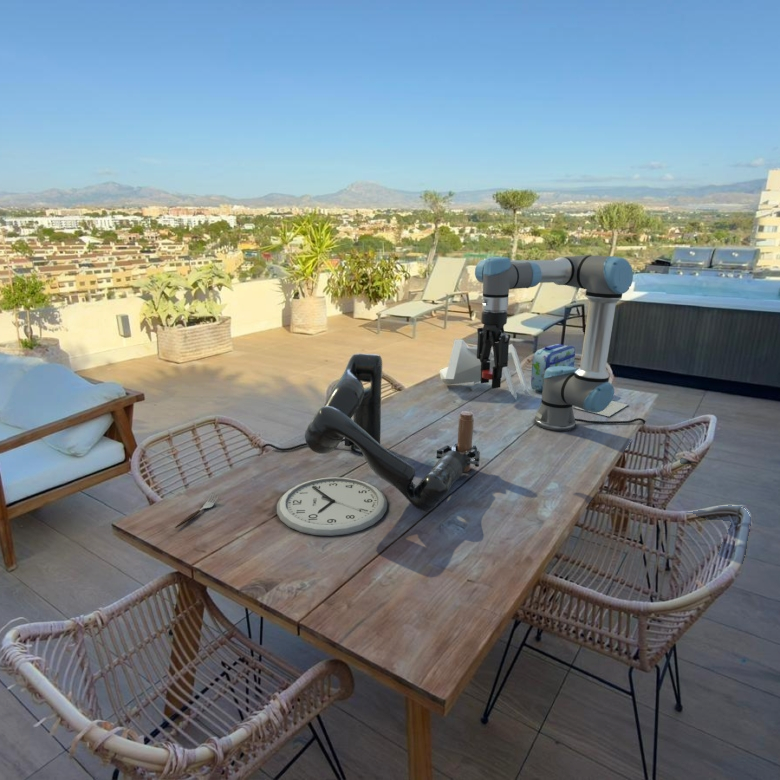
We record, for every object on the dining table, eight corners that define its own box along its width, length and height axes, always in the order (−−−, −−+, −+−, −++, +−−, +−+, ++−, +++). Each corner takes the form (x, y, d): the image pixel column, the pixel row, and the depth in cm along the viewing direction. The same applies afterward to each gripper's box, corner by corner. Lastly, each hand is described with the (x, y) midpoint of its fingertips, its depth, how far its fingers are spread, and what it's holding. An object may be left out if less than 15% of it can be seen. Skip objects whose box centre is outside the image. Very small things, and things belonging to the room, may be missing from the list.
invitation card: (608, 416, 214) (573, 407, 224) (608, 416, 214) (573, 408, 224) (628, 404, 229) (594, 396, 238) (628, 405, 229) (594, 397, 238)
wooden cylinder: (453, 467, 166) (456, 412, 161) (463, 464, 169) (467, 409, 163) (462, 473, 163) (466, 416, 157) (473, 469, 165) (477, 414, 160)
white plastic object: (461, 429, 252) (437, 405, 227) (444, 352, 274) (420, 323, 250) (535, 404, 240) (518, 377, 215) (510, 326, 262) (492, 293, 237)
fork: (171, 528, 130) (170, 521, 130) (212, 499, 145) (211, 492, 144) (179, 530, 129) (178, 523, 129) (220, 500, 144) (219, 494, 143)
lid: (498, 380, 159) (499, 374, 158) (481, 379, 160) (481, 373, 159) (499, 375, 164) (499, 369, 163) (482, 374, 165) (482, 368, 164)
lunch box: (547, 396, 238) (552, 351, 232) (526, 391, 246) (531, 347, 239) (574, 385, 256) (579, 343, 250) (554, 380, 263) (559, 340, 257)
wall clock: (392, 527, 129) (268, 531, 127) (391, 533, 130) (269, 537, 127) (383, 473, 158) (282, 475, 155) (383, 478, 158) (282, 480, 156)
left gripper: (426, 474, 156) (445, 453, 170) (472, 484, 150) (488, 462, 165) (427, 451, 153) (446, 431, 168) (474, 460, 148) (490, 439, 162)
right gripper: (466, 307, 162) (463, 379, 169) (503, 316, 146) (498, 395, 153) (486, 305, 165) (483, 376, 172) (524, 314, 149) (518, 391, 156)
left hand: (467, 446), depth 166 cm, fingers closed on wooden cylinder, 4 cm apart
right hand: (490, 384), depth 163 cm, fingers closed on lid, 5 cm apart
